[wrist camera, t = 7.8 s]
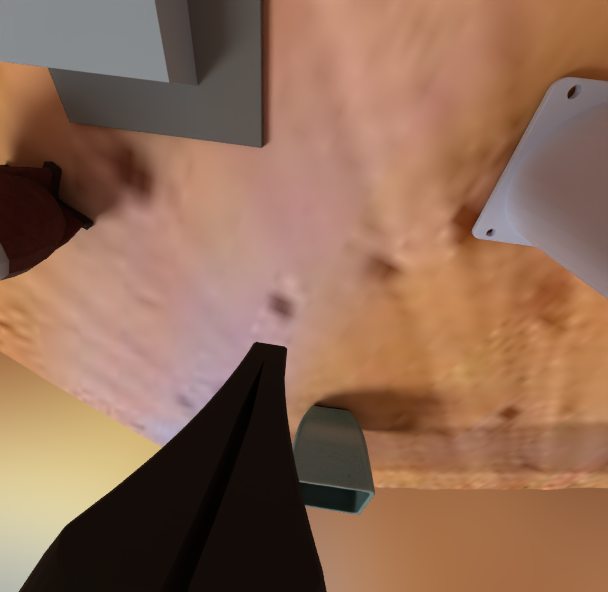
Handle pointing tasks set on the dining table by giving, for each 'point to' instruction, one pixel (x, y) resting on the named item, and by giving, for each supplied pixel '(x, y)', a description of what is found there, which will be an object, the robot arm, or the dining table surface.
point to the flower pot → (333, 461)
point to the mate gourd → (33, 217)
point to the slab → (101, 37)
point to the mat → (186, 98)
